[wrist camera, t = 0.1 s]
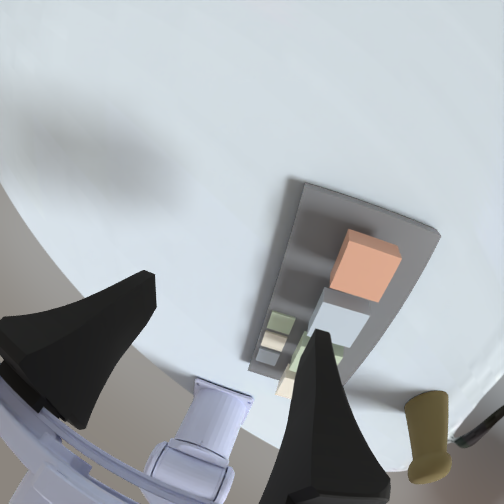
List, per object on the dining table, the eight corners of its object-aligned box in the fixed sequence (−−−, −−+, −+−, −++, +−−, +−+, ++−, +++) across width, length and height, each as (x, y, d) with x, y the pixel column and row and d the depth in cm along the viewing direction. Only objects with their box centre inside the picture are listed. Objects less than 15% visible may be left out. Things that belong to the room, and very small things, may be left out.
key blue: (350, 332, 20) (349, 347, 19) (309, 320, 20) (306, 335, 19) (368, 300, 18) (370, 315, 17) (324, 287, 19) (322, 301, 17)
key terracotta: (376, 287, 18) (378, 302, 16) (330, 273, 18) (329, 287, 17) (397, 245, 16) (402, 258, 14) (348, 228, 16) (349, 240, 15)
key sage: (328, 365, 22) (326, 380, 21) (292, 355, 23) (288, 370, 22) (344, 342, 21) (343, 357, 19) (304, 330, 21) (301, 345, 20)
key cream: (310, 390, 25) (308, 403, 24) (278, 381, 25) (275, 394, 24) (323, 373, 23) (321, 387, 22) (288, 363, 24) (284, 377, 22)
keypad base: (336, 387, 27) (335, 396, 26) (250, 363, 28) (247, 371, 28) (436, 229, 16) (442, 237, 15) (305, 182, 18) (303, 187, 17)
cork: (394, 411, 27) (392, 488, 18) (425, 387, 24) (431, 473, 15) (426, 416, 27) (428, 487, 18) (457, 394, 24) (465, 471, 14)
